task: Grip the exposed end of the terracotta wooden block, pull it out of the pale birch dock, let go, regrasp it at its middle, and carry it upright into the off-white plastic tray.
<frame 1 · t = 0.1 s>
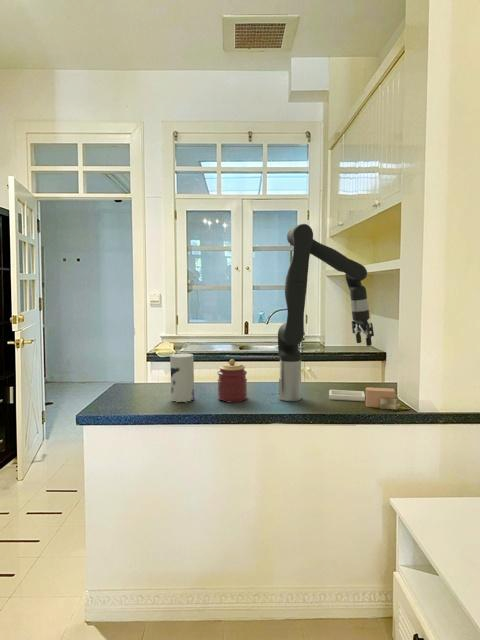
hand: (364, 344, 196), 22 cm above the counter, tool pointing down, fingers open, 8 cm apart
container: (182, 400, 189), on the counter
block: (379, 406, 177), on the counter
dock: (384, 405, 176), on the counter
tray: (346, 397, 189), on the counter
canister: (232, 399, 190), on the counter
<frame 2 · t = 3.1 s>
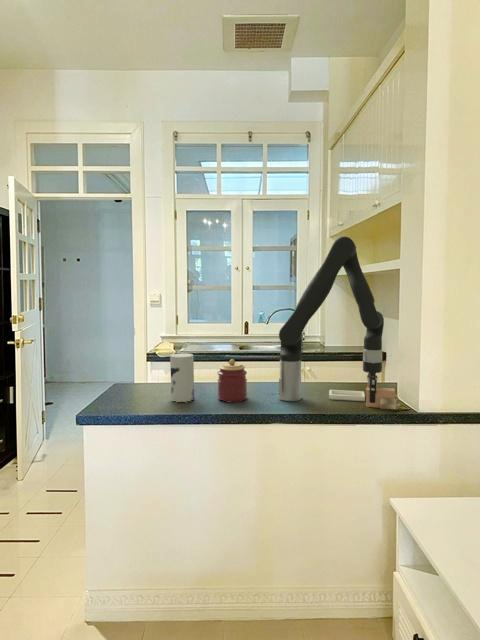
hand: (371, 400, 177), 2 cm above the counter, tool pointing down, fingers closed on block, 5 cm apart
block: (380, 405, 176), on the counter, touching gripper
everything else where it was.
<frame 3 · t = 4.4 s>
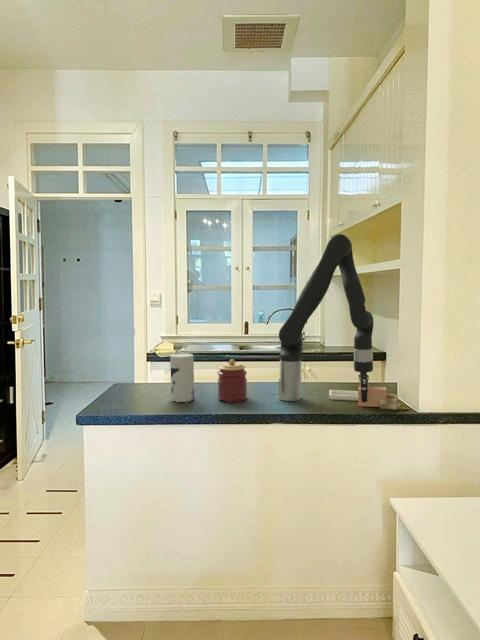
hand: (364, 399, 178), 2 cm above the counter, tool pointing down, fingers closed on block, 5 cm apart
block: (372, 404, 177), on the counter, touching gripper
everything else where it was.
when the fingers open (2 cm above the counter, at t = 5.7 s): block stays where it is, on the counter.
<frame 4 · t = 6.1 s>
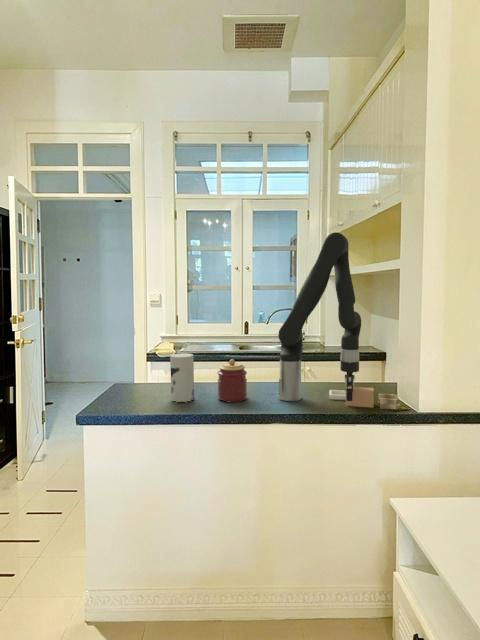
hand: (349, 397, 179), 3 cm above the counter, tool pointing down, fingers open, 8 cm apart
block: (359, 405, 178), on the counter
everything else where it was.
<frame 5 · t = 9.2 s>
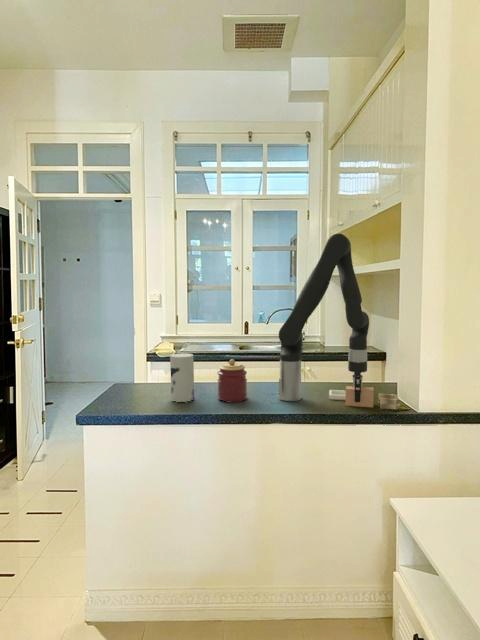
hand: (357, 399, 178), 2 cm above the counter, tool pointing down, fingers closed on block, 5 cm apart
block: (359, 404, 178), on the counter, touching gripper
everything else where it was.
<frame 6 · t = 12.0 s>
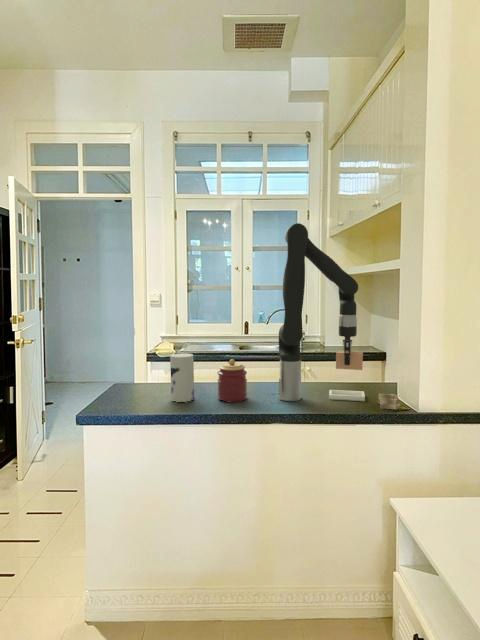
hand: (347, 363, 187), 15 cm above the counter, tool pointing down, fingers closed on block, 5 cm apart
block: (349, 368, 187), point 13 cm above the counter, touching gripper
everything else where it was.
when the fingers open (4 cm above the counter, at t = 14.7 s): block stays where it is, resting on tray.
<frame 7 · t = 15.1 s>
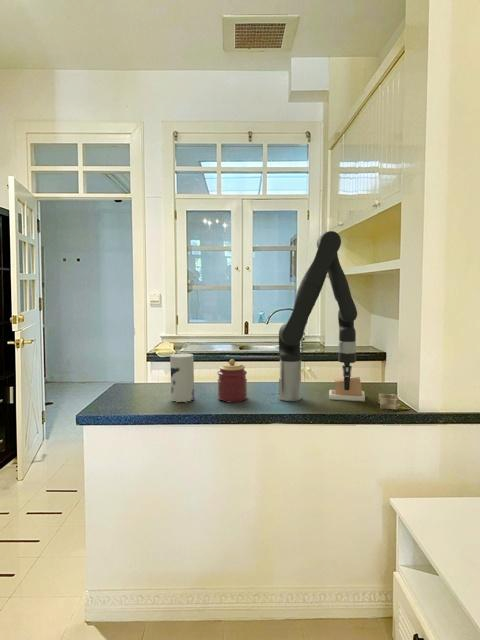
hand: (346, 387, 189), 4 cm above the counter, tool pointing down, fingers open, 8 cm apart
block: (349, 395, 189), point 1 cm above the counter, tilted 8°, touching tray
everything else where it was.
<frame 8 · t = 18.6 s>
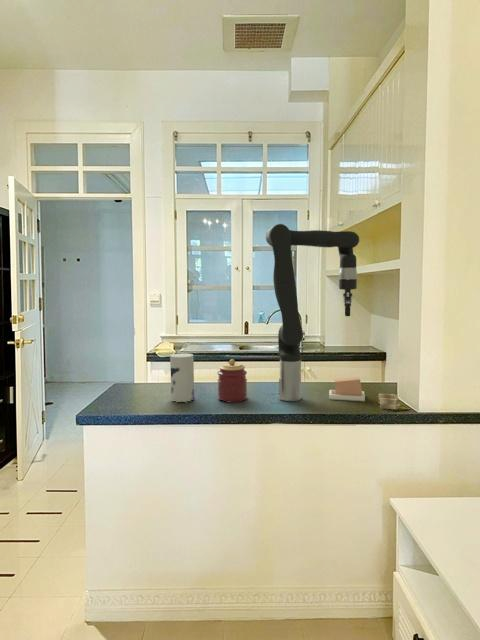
hand: (347, 315, 189), 36 cm above the counter, tool pointing down, fingers open, 8 cm apart
nothing on the counter moved.
at the end: block 1.1 cm off-centre on the tray, point 1.2 cm above the tray's base; block tilted 8°; the gripper is holding nothing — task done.
